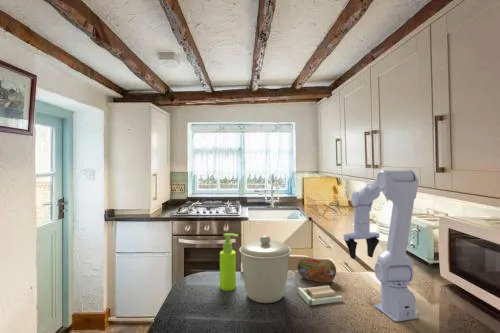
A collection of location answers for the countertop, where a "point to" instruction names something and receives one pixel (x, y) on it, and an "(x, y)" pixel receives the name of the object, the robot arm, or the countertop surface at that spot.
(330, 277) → the tin
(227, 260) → the soap dispenser
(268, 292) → the canister
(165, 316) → the countertop surface
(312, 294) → the tan rectangular block
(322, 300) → the bracket
